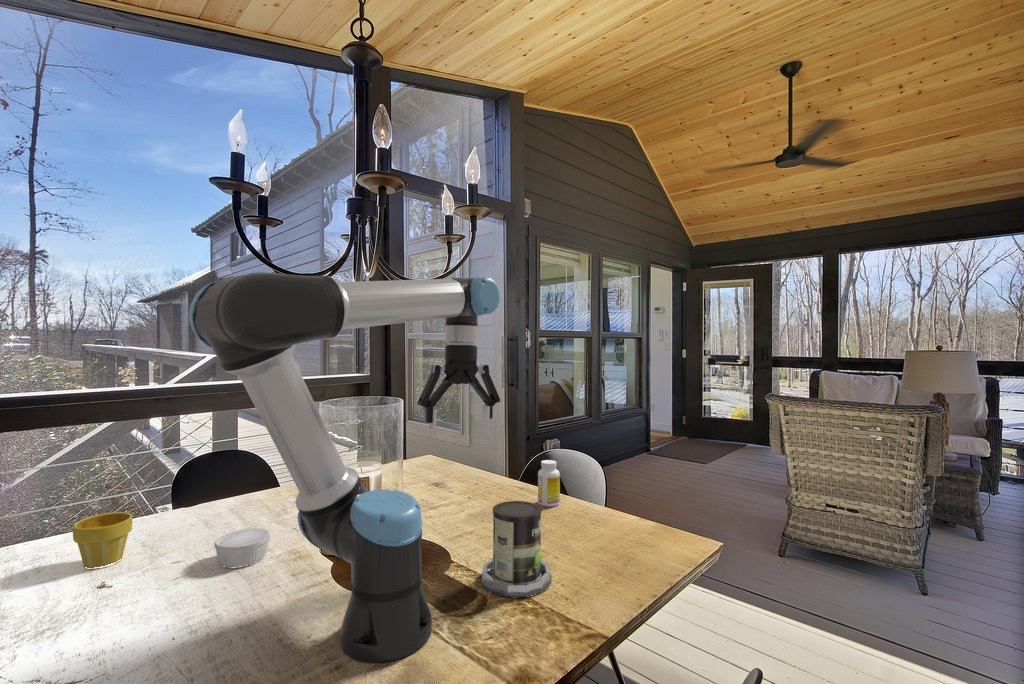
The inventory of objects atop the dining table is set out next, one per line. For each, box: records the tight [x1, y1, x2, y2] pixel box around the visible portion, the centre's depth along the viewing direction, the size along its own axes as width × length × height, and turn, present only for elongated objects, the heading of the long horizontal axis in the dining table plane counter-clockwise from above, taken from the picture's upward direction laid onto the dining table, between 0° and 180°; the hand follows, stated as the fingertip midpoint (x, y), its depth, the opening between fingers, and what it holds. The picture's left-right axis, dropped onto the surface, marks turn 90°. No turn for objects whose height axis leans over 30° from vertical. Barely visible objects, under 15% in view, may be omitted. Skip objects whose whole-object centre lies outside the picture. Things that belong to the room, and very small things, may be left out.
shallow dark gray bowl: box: [480, 557, 552, 598], centre depth 104 cm, size 15×15×2 cm
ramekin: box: [213, 527, 271, 568], centre depth 113 cm, size 11×11×5 cm
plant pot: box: [72, 511, 133, 568], centre depth 111 cm, size 10×10×10 cm
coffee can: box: [492, 500, 542, 583], centre depth 104 cm, size 10×10×14 cm
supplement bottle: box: [537, 459, 561, 508], centre depth 151 cm, size 7×7×13 cm
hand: (459, 434), depth 116 cm, fingers open, 13 cm apart
